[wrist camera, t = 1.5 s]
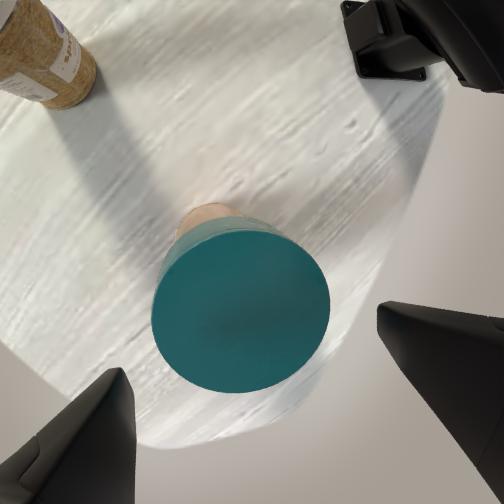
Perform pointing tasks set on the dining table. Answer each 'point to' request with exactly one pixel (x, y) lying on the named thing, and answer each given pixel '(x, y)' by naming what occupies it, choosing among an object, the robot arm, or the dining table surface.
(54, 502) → the robot arm
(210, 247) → the lid
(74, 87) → the sprinkles bottle
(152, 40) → the dining table surface
